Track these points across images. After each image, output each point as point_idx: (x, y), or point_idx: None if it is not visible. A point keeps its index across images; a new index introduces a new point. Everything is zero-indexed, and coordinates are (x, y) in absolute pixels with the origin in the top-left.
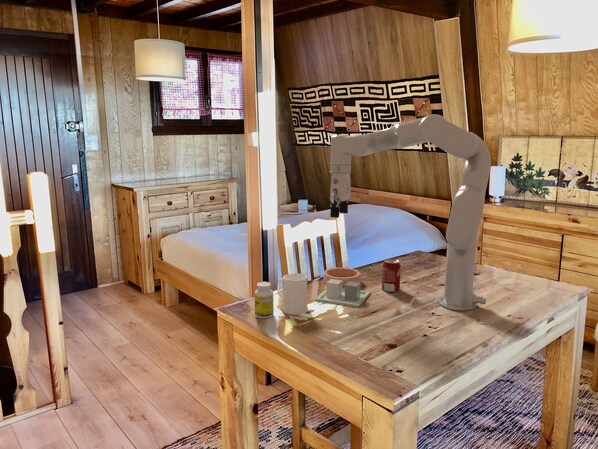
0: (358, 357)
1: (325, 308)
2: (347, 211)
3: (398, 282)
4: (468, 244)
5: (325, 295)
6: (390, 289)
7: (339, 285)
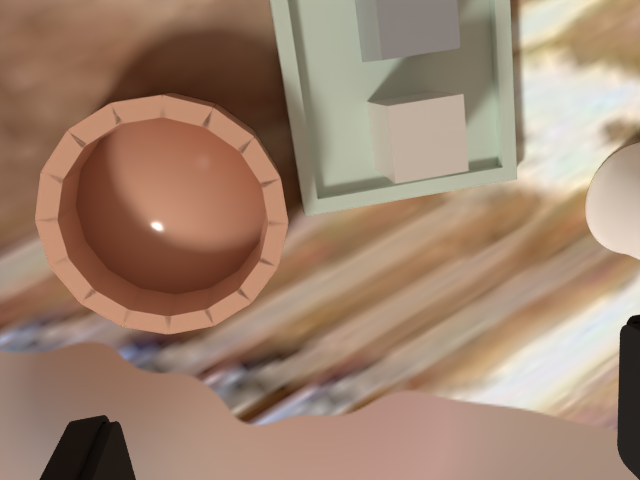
0: None
1: (564, 88)
2: (85, 435)
3: None
4: None
5: None
6: None
7: (435, 96)
